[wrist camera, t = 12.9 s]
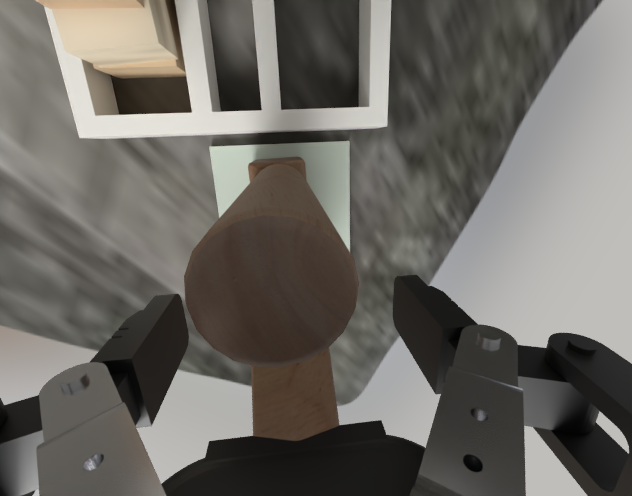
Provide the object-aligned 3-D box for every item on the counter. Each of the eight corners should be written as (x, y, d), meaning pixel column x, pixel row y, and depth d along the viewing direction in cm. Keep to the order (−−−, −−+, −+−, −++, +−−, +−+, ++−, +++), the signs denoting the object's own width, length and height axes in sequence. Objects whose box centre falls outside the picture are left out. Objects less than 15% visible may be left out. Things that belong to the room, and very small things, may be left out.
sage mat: (211, 146, 22) (209, 146, 22) (347, 140, 23) (349, 140, 23) (232, 295, 26) (231, 299, 26) (348, 286, 27) (350, 289, 26)
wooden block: (269, 293, 26) (240, 582, 9) (252, 159, 22) (150, 210, 5) (313, 288, 26) (367, 560, 9) (302, 156, 23) (361, 192, 6)
